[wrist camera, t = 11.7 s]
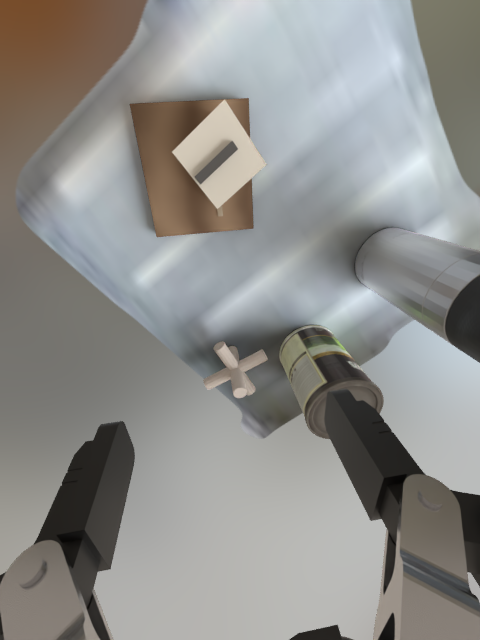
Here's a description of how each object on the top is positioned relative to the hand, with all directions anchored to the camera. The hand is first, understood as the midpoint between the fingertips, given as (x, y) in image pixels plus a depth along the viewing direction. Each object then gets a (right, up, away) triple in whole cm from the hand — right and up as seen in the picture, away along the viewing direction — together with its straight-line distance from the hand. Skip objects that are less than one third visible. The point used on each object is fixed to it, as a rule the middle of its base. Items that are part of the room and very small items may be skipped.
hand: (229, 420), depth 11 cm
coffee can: (+12, -1, +37) cm, 39 cm away
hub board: (-4, +22, +22) cm, 31 cm away
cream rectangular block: (-2, +22, +20) cm, 29 cm away
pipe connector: (-1, -1, +35) cm, 35 cm away
